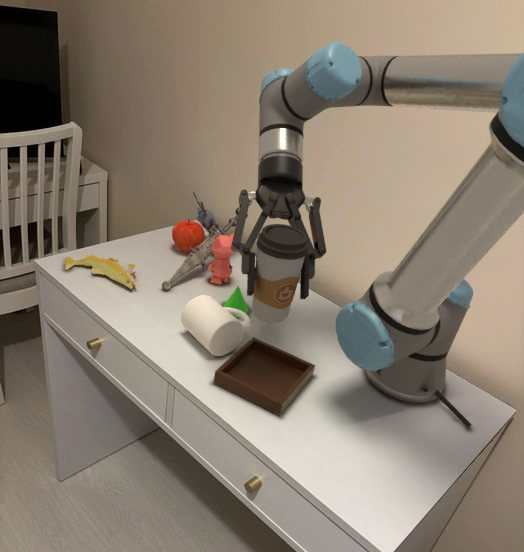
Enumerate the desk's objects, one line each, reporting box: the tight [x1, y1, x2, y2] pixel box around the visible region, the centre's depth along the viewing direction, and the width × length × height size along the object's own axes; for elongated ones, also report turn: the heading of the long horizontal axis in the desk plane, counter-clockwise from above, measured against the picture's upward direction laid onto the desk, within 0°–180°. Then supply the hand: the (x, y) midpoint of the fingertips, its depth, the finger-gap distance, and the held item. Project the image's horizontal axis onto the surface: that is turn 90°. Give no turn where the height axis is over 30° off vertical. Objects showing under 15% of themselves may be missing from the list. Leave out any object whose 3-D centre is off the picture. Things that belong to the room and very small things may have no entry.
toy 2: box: [192, 191, 217, 231], centre depth 136 cm, size 15×4×15 cm
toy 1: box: [64, 253, 138, 290], centre depth 121 cm, size 20×3×10 cm
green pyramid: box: [222, 285, 249, 318], centre depth 117 cm, size 6×6×6 cm
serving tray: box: [213, 336, 316, 417], centre depth 100 cm, size 14×14×3 cm
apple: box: [171, 218, 206, 253], centre depth 134 cm, size 8×8×8 cm
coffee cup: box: [251, 223, 308, 324], centre depth 91 cm, size 8×8×15 cm
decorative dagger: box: [161, 206, 249, 291], centre depth 127 cm, size 7×2×30 cm
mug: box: [180, 294, 251, 357], centre depth 107 cm, size 12×10×8 cm
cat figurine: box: [207, 232, 237, 285], centre depth 123 cm, size 7×7×12 cm
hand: (277, 295), depth 89 cm, fingers closed on coffee cup, 8 cm apart
